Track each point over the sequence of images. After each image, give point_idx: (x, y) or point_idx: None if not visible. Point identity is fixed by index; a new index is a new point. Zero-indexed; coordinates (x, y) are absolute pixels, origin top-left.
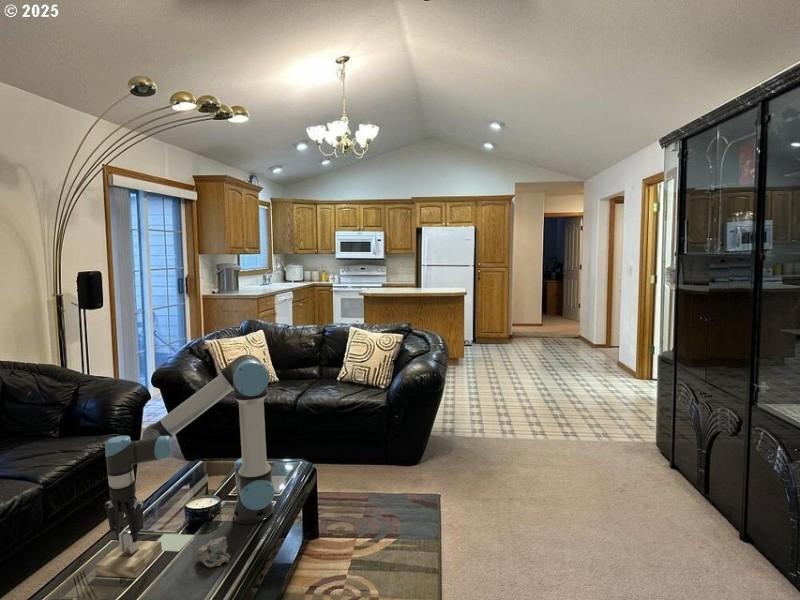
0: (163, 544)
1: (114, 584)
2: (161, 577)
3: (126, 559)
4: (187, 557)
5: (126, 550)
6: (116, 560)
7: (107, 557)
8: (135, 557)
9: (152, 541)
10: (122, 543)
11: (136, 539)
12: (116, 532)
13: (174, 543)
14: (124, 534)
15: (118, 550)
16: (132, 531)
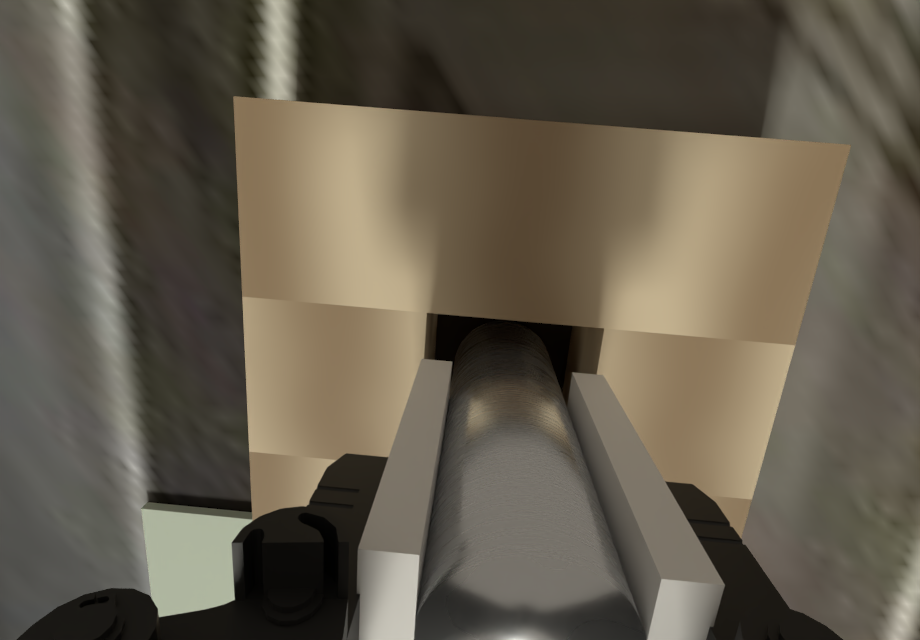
0: None
1: (475, 10)
2: (45, 136)
3: (460, 267)
4: (21, 432)
5: (506, 376)
6: (588, 247)
7: (754, 315)
8: (364, 307)
9: None
10: (596, 455)
11: (318, 496)
12: (812, 633)
13: None
14: (542, 567)
15: (680, 454)
16: (265, 627)
